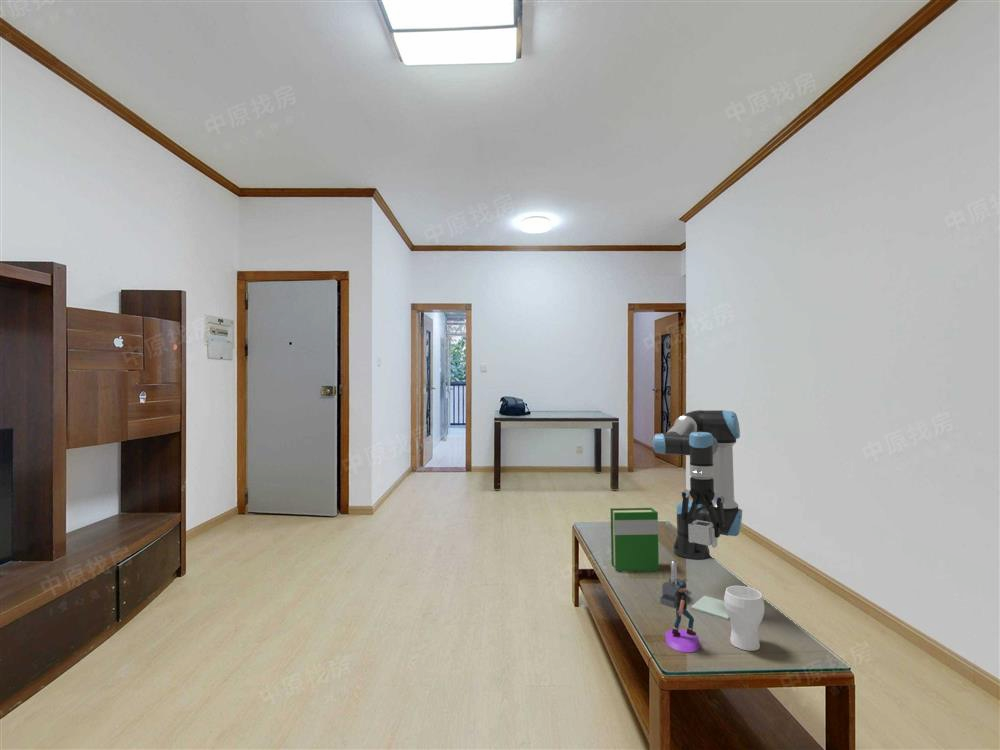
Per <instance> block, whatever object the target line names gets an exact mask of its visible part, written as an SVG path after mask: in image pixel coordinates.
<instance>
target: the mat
mask: <svg viewBox="0 0 1000 750" xmlns="http://www.w3.org/2000/svg"><path fill="white" fill-rule="evenodd" d="M690 610H693V611H694V610H695V611H697V612H700V613H703V614H707V615H711V616H713V617H717V618H719V619H723V620H727V621H729V620H730V619H729V617H728V615H727V612H726V609H725V606H724V600H722V599H719V598H714V597H711V596H707V595H705V594H704V595H703V596H702V597H700V598H699V599H698V600H696V602H695V603H693V604H692V606H690Z"/></svg>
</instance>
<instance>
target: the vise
mask: <svg viewBox="0 0 1000 750" xmlns="http://www.w3.org/2000/svg"><path fill="white" fill-rule="evenodd" d="M677 562H678V561H677V560H673V559H672V560H670V579H668V581H665V582H663V583H662V584H661V585H662V595H661V596H660V598H659V600H660V601H659V602H660V603H659V604H662V605H664V606H668V607H671V608H676V606H675V604H676V601H677V599H676V597H675V593H676V592H677V590H679V589H676V588H675V586H676V585H678V584H679V583H680V582H684V583H685V584H686V585H687V581H688V579H687V578H683V579H680V578H678V563H677ZM684 593H685V594H686V595H687V598H688V597H689V590H688V589H686V590H685V591H684Z"/></svg>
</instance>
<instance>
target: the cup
mask: <svg viewBox="0 0 1000 750" xmlns="http://www.w3.org/2000/svg"><path fill="white" fill-rule="evenodd" d="M723 601H724V606H725V609H726V612H727V615H728V617H729V620H730V625H731V632H730V639H729V640H730V643H731V645H732V646H734V647H736V648H737V649H740V650H744V651H749V652H753V651H757V650H759V649H760V647H761V646H760V639H759V634H758V631H759V626H760V625H761V623H762V621H763V619H764V615H765V601H764V598H763V594H762V593H761V592H760V591H758V590H757V589H755V588H752V587H749V586H744V585H743V586H742V585H731V586H728V587H726V589H725V592H724V596H723Z"/></svg>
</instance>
